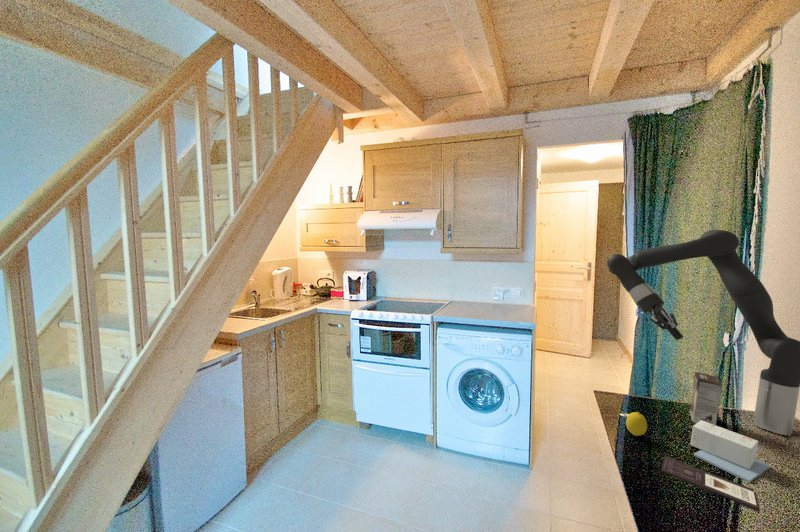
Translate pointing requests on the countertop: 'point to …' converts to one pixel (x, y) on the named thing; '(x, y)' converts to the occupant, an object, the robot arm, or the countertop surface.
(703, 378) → the coffee box
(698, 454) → the flat blue-gray panel
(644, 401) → the countertop surface
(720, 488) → the chocolate bar
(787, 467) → the countertop surface
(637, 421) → the lemon
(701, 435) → the small box
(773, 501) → the countertop surface
